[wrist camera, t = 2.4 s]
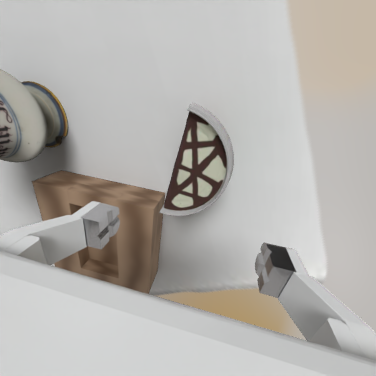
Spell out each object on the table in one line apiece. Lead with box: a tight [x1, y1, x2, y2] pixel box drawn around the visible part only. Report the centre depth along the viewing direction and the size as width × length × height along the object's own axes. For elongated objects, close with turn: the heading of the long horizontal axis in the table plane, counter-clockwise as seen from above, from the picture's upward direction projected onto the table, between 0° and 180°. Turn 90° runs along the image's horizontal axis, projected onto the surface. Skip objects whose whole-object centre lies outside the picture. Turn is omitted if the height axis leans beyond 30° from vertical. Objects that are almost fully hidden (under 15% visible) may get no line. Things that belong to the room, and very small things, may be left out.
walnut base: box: [32, 170, 165, 294], centre depth 33 cm, size 20×20×6 cm
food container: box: [159, 103, 234, 216], centre depth 22 cm, size 12×6×10 cm, turn 163°
